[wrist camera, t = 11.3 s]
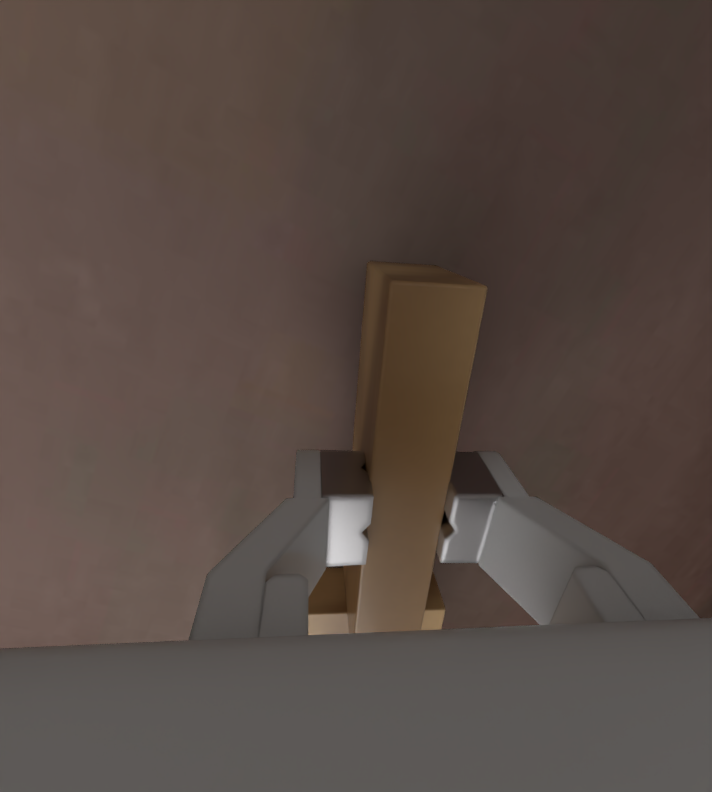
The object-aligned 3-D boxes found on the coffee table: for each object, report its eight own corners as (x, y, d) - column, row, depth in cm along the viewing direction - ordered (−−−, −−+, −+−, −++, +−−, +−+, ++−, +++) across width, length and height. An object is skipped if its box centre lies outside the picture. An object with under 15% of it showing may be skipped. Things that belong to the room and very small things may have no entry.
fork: (488, 268, 9) (560, 290, 7) (398, 732, 16) (416, 835, 14) (312, 257, 9) (312, 275, 6) (298, 739, 16) (295, 848, 13)
